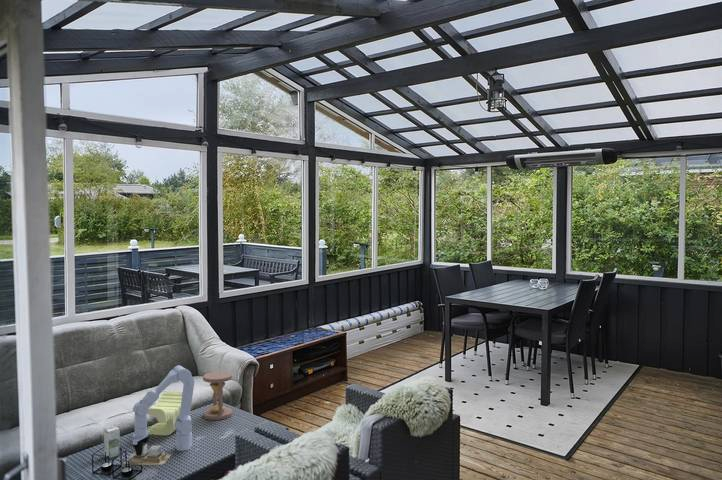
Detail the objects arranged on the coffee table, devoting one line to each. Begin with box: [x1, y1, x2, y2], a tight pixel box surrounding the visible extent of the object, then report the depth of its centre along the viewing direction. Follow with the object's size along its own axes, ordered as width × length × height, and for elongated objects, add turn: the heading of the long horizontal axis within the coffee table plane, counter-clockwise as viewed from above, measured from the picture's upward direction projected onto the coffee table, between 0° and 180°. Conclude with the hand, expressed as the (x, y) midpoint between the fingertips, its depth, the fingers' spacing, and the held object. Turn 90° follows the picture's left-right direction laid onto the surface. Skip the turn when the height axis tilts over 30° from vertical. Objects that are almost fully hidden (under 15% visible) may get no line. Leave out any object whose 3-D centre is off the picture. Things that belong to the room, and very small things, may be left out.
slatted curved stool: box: [147, 390, 183, 436], centre depth 318 cm, size 30×16×18 cm, turn 173°
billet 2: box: [147, 445, 162, 458], centre depth 278 cm, size 4×4×6 cm
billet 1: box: [134, 443, 148, 458], centre depth 278 cm, size 4×4×6 cm
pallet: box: [122, 451, 173, 466], centre depth 278 cm, size 13×20×3 cm, turn 88°
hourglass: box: [202, 371, 233, 421], centre depth 343 cm, size 18×18×25 cm
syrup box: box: [103, 425, 121, 460], centre depth 284 cm, size 6×6×14 cm
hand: (141, 453), depth 278 cm, fingers closed on billet 1, 4 cm apart
